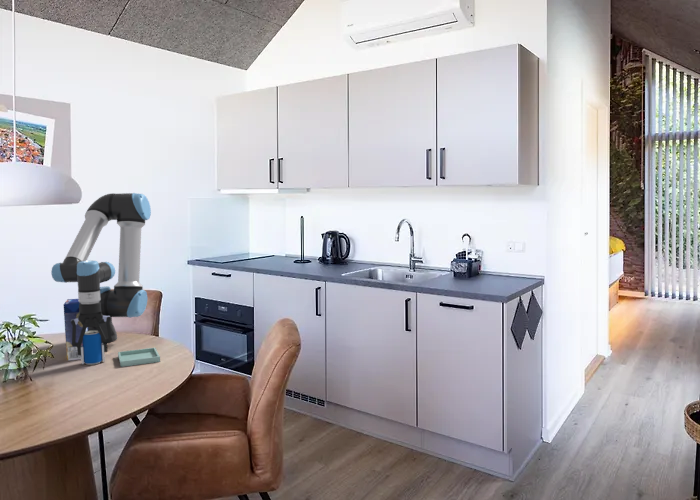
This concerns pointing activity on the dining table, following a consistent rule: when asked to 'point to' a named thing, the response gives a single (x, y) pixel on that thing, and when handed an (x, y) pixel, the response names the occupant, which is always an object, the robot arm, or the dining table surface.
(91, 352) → the beverage can
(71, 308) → the beverage box
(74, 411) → the dining table surface
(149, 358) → the tray
